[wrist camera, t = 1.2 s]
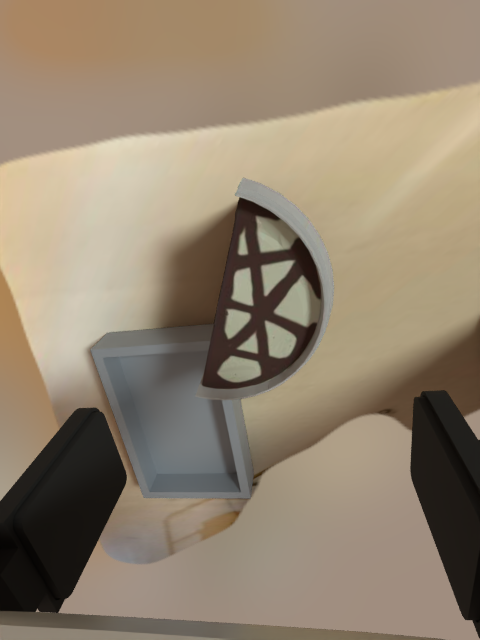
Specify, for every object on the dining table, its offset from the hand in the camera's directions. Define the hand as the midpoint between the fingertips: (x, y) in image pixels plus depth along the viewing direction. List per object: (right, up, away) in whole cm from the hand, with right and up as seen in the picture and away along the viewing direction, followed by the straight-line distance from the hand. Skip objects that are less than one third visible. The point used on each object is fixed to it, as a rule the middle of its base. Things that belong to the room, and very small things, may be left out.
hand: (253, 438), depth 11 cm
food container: (+2, +8, +16) cm, 18 cm away
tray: (-6, -5, +23) cm, 24 cm away
